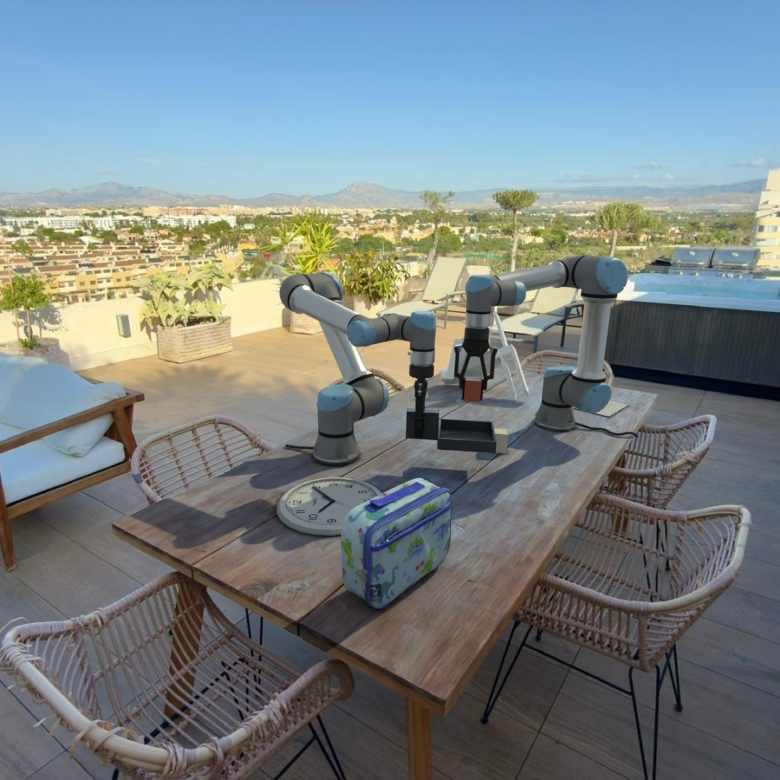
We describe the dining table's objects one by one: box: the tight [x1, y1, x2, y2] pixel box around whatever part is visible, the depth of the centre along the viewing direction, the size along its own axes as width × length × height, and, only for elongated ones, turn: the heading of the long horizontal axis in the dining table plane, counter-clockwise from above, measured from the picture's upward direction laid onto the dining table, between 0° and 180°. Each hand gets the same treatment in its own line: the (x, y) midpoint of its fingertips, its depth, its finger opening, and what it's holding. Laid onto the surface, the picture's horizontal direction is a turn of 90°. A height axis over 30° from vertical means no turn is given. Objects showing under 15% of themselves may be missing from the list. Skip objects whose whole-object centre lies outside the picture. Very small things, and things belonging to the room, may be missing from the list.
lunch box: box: [340, 477, 452, 610], centre depth 110 cm, size 26×11×21 cm, turn 134°
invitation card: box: [573, 400, 629, 418], centre depth 226 cm, size 21×1×15 cm
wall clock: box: [276, 476, 383, 537], centre depth 142 cm, size 30×2×30 cm
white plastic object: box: [438, 310, 531, 400], centre depth 245 cm, size 37×45×31 cm
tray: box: [405, 407, 497, 454], centre depth 162 cm, size 27×17×9 cm, turn 83°
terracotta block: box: [463, 376, 482, 403], centre depth 166 cm, size 5×5×7 cm
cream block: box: [494, 427, 509, 455], centre depth 179 cm, size 5×5×7 cm
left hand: (419, 435), depth 164 cm, fingers closed on tray, 3 cm apart
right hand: (472, 398), depth 167 cm, fingers closed on terracotta block, 5 cm apart
